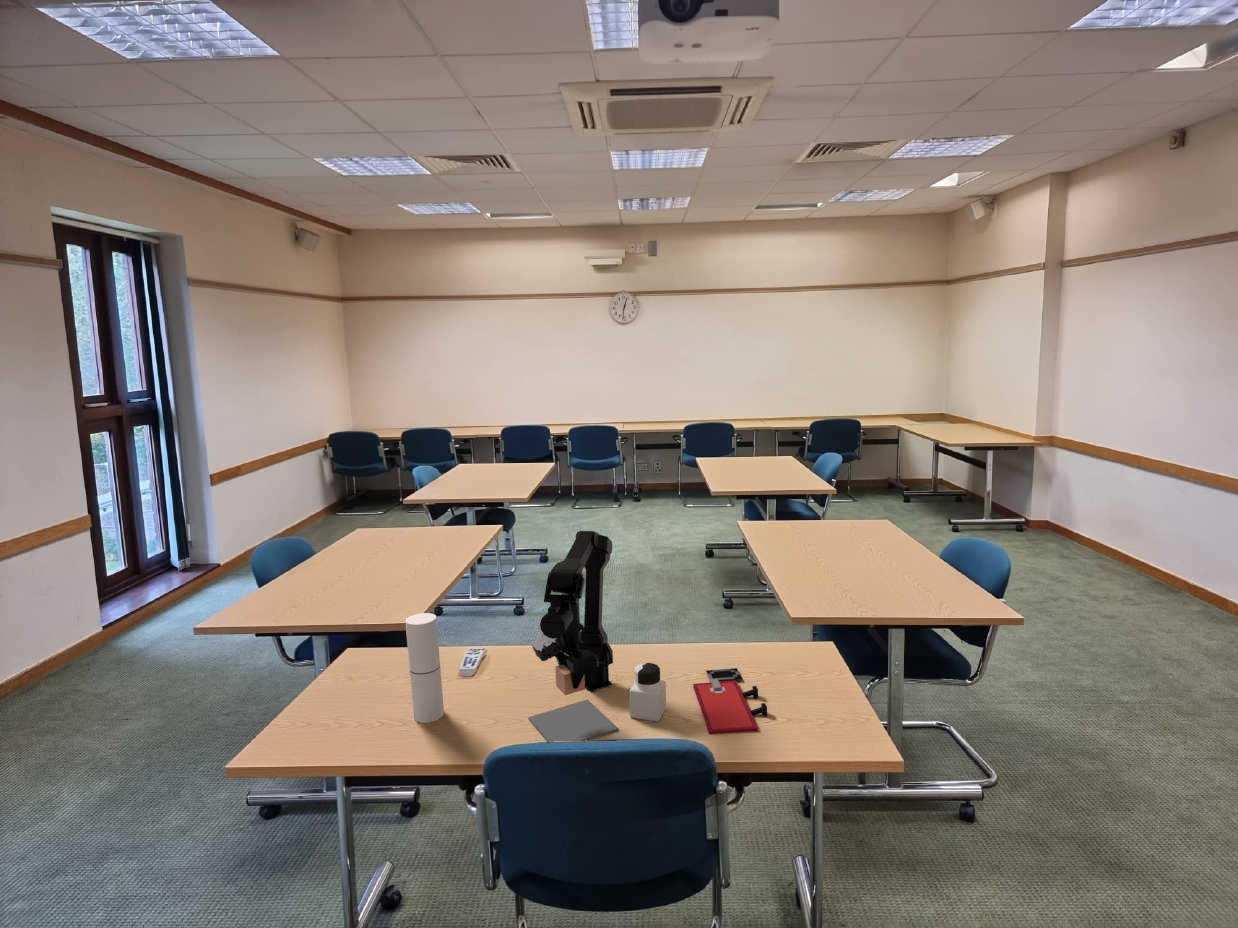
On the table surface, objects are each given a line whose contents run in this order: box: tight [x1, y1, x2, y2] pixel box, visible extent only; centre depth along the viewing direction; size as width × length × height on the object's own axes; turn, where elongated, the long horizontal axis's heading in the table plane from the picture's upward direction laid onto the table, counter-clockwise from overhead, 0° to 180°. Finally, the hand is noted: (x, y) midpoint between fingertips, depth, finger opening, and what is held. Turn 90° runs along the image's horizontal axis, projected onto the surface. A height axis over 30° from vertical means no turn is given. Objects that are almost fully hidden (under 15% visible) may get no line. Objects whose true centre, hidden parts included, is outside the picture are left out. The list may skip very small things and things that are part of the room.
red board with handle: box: [692, 667, 768, 735], centre depth 175 cm, size 30×3×15 cm
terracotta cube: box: [554, 665, 586, 696], centre depth 164 cm, size 5×5×5 cm
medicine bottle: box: [629, 662, 667, 723], centre depth 169 cm, size 7×7×12 cm
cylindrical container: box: [405, 612, 445, 724], centre depth 170 cm, size 7×7×25 cm
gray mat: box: [527, 699, 620, 743], centre depth 166 cm, size 16×16×1 cm
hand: (570, 683), depth 164 cm, fingers closed on terracotta cube, 5 cm apart
